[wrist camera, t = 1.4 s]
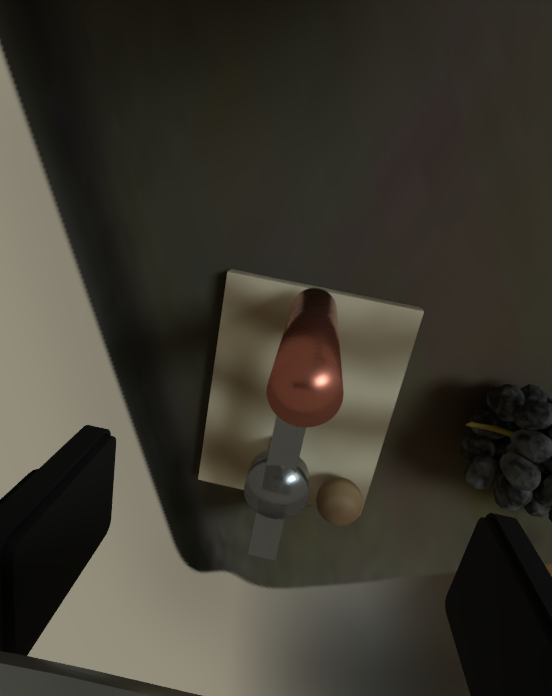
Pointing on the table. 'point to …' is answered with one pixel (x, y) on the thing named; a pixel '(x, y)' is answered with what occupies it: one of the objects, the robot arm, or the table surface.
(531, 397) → the fruit
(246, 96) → the table surface
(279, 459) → the lever
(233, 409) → the board
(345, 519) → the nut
